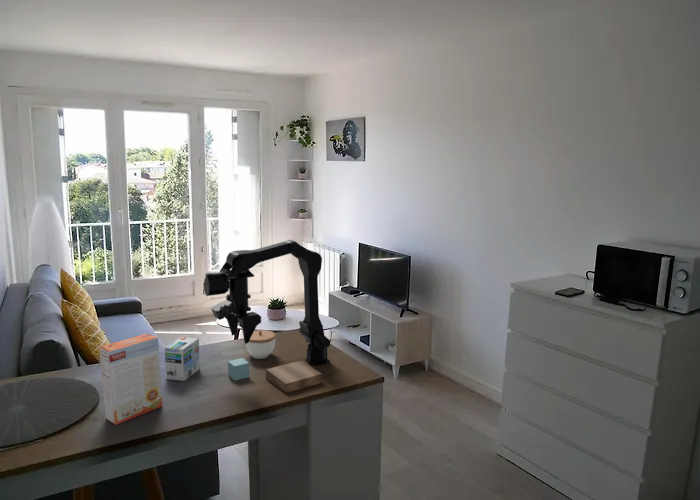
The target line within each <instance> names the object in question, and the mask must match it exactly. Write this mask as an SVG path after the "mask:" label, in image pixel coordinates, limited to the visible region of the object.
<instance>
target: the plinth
mask: <svg viewBox="0 0 700 500" xmlns="http://www.w3.org/2000/svg"><path fill="white" fill-rule="evenodd" d="M265 378H266V380H268V381H269V382H270V383H272V384H273V385H275V386H276V387H277V388H279V389H280V390H281V391H282V392H284V393H285V394H288V393H291V392H296V391H298V390H301V389H305V388H308V387H312V386H316V385H318V384H322V383H323V373H322V372H320V371H318V370H316V369H315V368H313V367H312V366H310V365H308V364H307V363H306V362H304V361H302V360H298V361H295V362H290V363H286V364H282V365H278V366H274V367H270V368H266V370H265Z"/></svg>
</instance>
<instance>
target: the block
mask: <svg viewBox="0 0 700 500" xmlns="http://www.w3.org/2000/svg"><path fill="white" fill-rule="evenodd" d="M227 370H228V371H227V374H228V376H229V377H230V378H231V379H232V380H234V381H235V382H236V381H239V380H244V379H247V378H250V362H249V361H247V360H246V359H244V358H243V357H240V358H235V359H231V360H228V361H227Z"/></svg>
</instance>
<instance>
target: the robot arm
mask: <svg viewBox="0 0 700 500" xmlns="http://www.w3.org/2000/svg"><path fill="white" fill-rule="evenodd" d="M287 255H292V256H293V257H294V258H295V259H297V260H298V266H299V269H300V271H301V274H302V276H303V291H304V293H303V296H304V300H303V301H304V317H303V320H300V321H299V323H298V325H299V331H298V332H299V333H300V335H301V337H302V338H304V339H305V341H306V343H309V344H307V349H306V357H305V358H304V359H305V361H306V362H308V363H309V364H311V365H313V366H318V365H323V364H326V363H329V362H330V359H329V358H328V348H329V347H330V346H331V340H330V339H329V338H328V337H327V336H326V335H325V331H324V330H325V329H324V326H323V324H322V320H321V319H320V313H319V312H320V311H319V282H318V281H319V280H318V278H319V275H320V272H321V270H322V264H323V263H322V262H323V257H322V255H321V254H320V253H319V252H317V251H314V250H311V249H307V247H304V246H302V244H299V242H297V241H295V240H292V239H287V240H285V241H281V242H278V243H274V244H271V245H267V246H263V247H259V248H255V249H248V250H247V249H242V250H233V251H230V252H229V253H228V255H227V256H226V259H225V262H224V264H222V266H221V268H220V270H219V272H213V273H212V272H209V273H208V272H207V273H205V277H204V278H203V279H204V280H203V292H204V295H205V296H206V297H209V296H210V297H211V296H216V295H217V296H219V295H224V294H226V296H225V298H226V299H225V300H223V301H220V302H218V303H216V304H215V305H213V306H212V307H210V309H211V312H212V314H213V317H214V318H216V319H217V320H219V321H221V320H224V319H226V322H227V324H228V328H229V330H230V333H231V336H236V335H237V331H238V327H240V328H241V330H242V335H243V342H244V344H245V345H246V344H247V343H249V340H250V338H251V336H252V334H253V332H254V331H256V330H255V329H256V328H257V327H258V326H259V325H260V324H262V316H261V315H260V314H258V313H257V312H255V311H252V307H251V306H249V299H251V297H252V296H251V295H252V294H250V293H249V283H248V282H249V279H248V278H254V277H255V274H254V273H252V272H251V270H250V269H252V268H254V267H255V266H256V265H257V264H261V263H263V262H266V261H269V260H273V259H275V258H276V259H277V258H279V257H283V256H287ZM228 292H229V293H228ZM227 293H228V294H227Z"/></svg>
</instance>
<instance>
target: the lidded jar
mask: <svg viewBox="0 0 700 500" xmlns="http://www.w3.org/2000/svg"><path fill="white" fill-rule="evenodd" d="M275 345H276V334H275V332H273V331H271V330H263V329H259V330H254V332H253V334H252V336H251V338H250V340H249V343H247V344H245V347H246V351H247V352H248V354H249V355H250V356H251V357H252V358H254V359H267V358H268V357H269V356H270V355H271V354H272V352H273V351H274V350H275V347H276V346H275Z"/></svg>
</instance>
